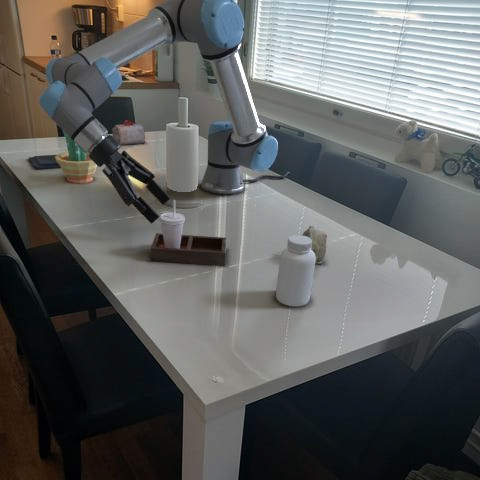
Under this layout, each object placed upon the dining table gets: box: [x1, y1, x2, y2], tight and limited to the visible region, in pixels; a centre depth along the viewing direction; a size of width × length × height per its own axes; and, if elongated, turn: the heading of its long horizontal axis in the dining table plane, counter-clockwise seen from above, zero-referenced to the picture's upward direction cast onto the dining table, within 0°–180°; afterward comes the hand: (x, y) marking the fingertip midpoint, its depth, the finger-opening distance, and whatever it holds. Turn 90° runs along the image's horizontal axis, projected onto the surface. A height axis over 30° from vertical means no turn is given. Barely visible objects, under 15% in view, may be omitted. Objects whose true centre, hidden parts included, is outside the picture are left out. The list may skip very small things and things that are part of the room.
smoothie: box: [159, 199, 186, 249], centre depth 129 cm, size 6×6×14 cm
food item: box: [111, 119, 146, 146], centre depth 227 cm, size 14×8×10 cm, turn 123°
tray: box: [150, 232, 227, 266], centre depth 132 cm, size 10×19×4 cm, turn 90°
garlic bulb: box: [301, 225, 328, 264], centre depth 134 cm, size 9×8×10 cm
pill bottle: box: [275, 234, 316, 307], centre depth 113 cm, size 8×8×15 cm
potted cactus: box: [55, 123, 98, 184], centre depth 174 cm, size 15×15×25 cm
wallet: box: [28, 154, 61, 170], centre depth 196 cm, size 20×2×15 cm
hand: (161, 210), depth 127 cm, fingers open, 13 cm apart
